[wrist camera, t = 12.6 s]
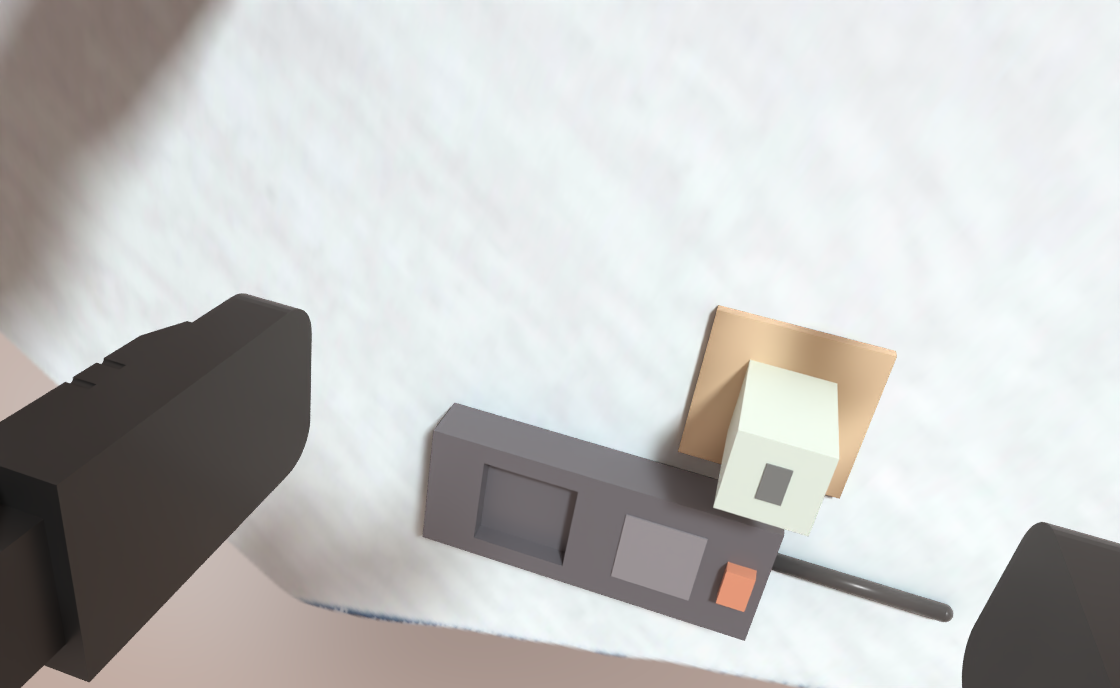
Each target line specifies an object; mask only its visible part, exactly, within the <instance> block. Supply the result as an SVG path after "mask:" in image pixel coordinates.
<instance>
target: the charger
mask: <svg viewBox="0 0 1120 688" xmlns="http://www.w3.org/2000/svg"><path fill="white" fill-rule="evenodd" d="M838 461H839V427H838V390H837V383H834V382H830V381H826V380H823V379H819V378H815V377H812V376H808V375H804V374H801V373H797V372H793V371H790V370H786V369H783V368H779V367H775V366H772V365H768V364H764V363H761V362H757V361H753V360H750V361H749V365H748V368H747V371H746V374H745V377H744V380H743V384H742V387H741V390H740V393H739V396H738V399H737V403H736V406H735V409H734V412H733V415H732V418H731V422H730V425H729V428H728V432H727V437H726V442H725V448H724V453H723V458H722V464H721V469H720V474H719V479H718V485H717V490H716V495H715V501H714V506H713V508H717V509H720V510H723V511H726V512H730V513H733V514H736V515H740V516H743V517H746V518H749V519H753V520H756V521H759V522H762V523H766V524H769V525H772V526H776V527H779V528H782V529H785V530H789V531H792V532H795V533H799V534H802V535H805V536H809V534H810V531H811V529H812V526H813V524H814V521H815V519H816V516H817V514H818V511H819V509H820V506H821V504H822V501H823V499H824V496H825V494H826V491H827V489H828V486H829V484H830V481H831V479H832V476H833V474H834V471H835V469H836V466H837V464H838Z"/></svg>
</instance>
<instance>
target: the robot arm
mask: <svg viewBox="0 0 1120 688" xmlns="http://www.w3.org/2000/svg"><path fill="white" fill-rule="evenodd" d="M311 341H312V331H311V322H310V319H309V316H308V315H307V313H306V312H305V311H303V310H301V309H298V308H294V307H291V306H287V305H283V304H280V303H276V302H273V301H269V300H266V299H262V298H259V297H255V296H252V295H248V294H242V293H241V294H237V295H235V296H233V297H231V298H229V299H228V300H226V301H225V302H223V303H222V304H220V305H219V306H217V307H216V308H214V309H212V310H211V311H209V312H208V313H206V314H205V315H203V316H202V317H200V318H198V319H197V320H195V321H194V322H188V321H186V322H183V323H180V324H177V325H173V326H170V327H167V328H164V329H160V330H157V331H154V332H151V333H147V334H144V335H141V336H139V337H137V338H136V339H134V340H133V341H131V342H129V343H128V344H126V345H124V346H123V347H121V348H120V349H118V350H116V351H115V352H113V353H111V354H110V355H108V356H107V357H105V358H104V361H103V363H102V364H99V363H95V364H94V365H92V366H90V367H89V368H87V369H85V370H84V371H82V372H81V373H79V374H77V375H76V376H74V377H73V381H72V382H71V383H67V382H64V383H63V384H61V385H59V386H58V387H56V388H55V389H53V390H51V391H50V392H48V393H46V394H45V395H43V396H42V397H40V398H39V399H37V400H35V401H34V402H32V403H30V404H29V405H27V406H25V407H24V408H22V409H21V410H19V411H17V412H16V413H14V414H13V415H11V416H9V417H7V418H6V419H4V420H3V421H1V422H0V688H21V687H22V686H23V685H24V684H25V683H26V682H27V681H28V680H29V679H30V678H31V677H32V676H33V675H34V674H35V673H36V672H37V671H38V670H39V669H41V668H42V667H43V666H44V665H45V666H47V667H50V668H53V669H56V670H58V671H61V672H63V673H66V674H69V675H71V676H74V677H76V678H79V679H82V680H84V681H87V682H90V681H91V680H92V679H93V678H94V677H95V676H96V675H97V674H98V673H99V672H100V671H101V670H102V668H104V667H105V665H106V664H107V663H108V662H109V661H110V660H111V659H112V658H113V657H114V656H115V655H116V654H117V653H118V652H119V651H120V650H121V649H122V648H123V647H124V646H125V645H126V644H127V643H128V641H129V640H130V639H131V638H132V637H133V636H134V635H135V634H136V633H137V632H138V631H139V630H140V629H141V628H142V627H143V626H144V625H145V624H146V623H147V622H148V621H149V620H150V618H151V617H152V616H153V615H154V614H155V613H156V612H157V611H158V610H159V609H160V608H161V607H162V606H163V605H164V604H165V603H166V602H167V601H168V600H169V599H170V597H172V595H173V594H174V593H175V592H176V591H177V590H178V589H179V588H180V587H181V586H182V585H183V584H184V583H185V582H186V581H187V580H188V579H189V578H190V577H191V576H192V574H193V573H194V572H195V571H196V570H197V569H198V568H199V567H200V566H201V565H202V564H203V563H204V562H205V561H206V560H207V559H208V558H209V557H210V556H211V555H212V554H213V553H214V551H215V550H217V548H218V547H219V546H220V545H221V544H222V543H223V542H224V541H225V540H226V539H227V538H228V537H229V536H230V535H231V534H232V533H233V532H234V531H235V530H236V529H237V528H238V527H239V525H240V524H241V523H242V522H243V521H244V520H245V519H246V518H247V517H248V516H249V515H250V514H251V513H252V512H253V511H254V510H255V509H256V508H257V507H258V506H259V505H260V504H261V502H262V501H263V500H264V499H265V498H266V497H267V496H268V495H269V494H270V493H271V492H272V491H273V490H274V489H275V488H276V487H277V486H278V485H279V484H280V483H281V482H282V481H283V480H284V478H285V477H286V476H287V475H288V474H289V473H290V472H291V471H292V469H293V468H294V466H295V465H296V463H297V462H298V460H299V458H300V456H301V454H302V452H303V449H304V447H305V444H306V441H307V437H308V433H309V427H310V400H311ZM962 688H1120V544H1119V543H1116V542H1112V541H1109V540H1105V539H1102V538H1098V537H1095V536H1091V535H1088V534H1084V533H1080V532H1077V531H1073V530H1070V529H1066V528H1063V527H1059V526H1056V525H1052V524H1049V523H1045V522H1040V523H1037V524H1035V525H1033V526H1032V527H1031V528H1030V529H1029V530H1028V531H1027V533H1026V534H1025V535H1024V537H1023V539H1022V540H1021V542H1020V544H1019V546H1018V547H1017V549H1016V551H1015V553H1014V555H1013V556H1012V558H1011V560H1010V562H1009V564H1008V565H1007V567H1006V569H1005V571H1004V573H1003V574H1002V576H1001V578H1000V580H999V582H998V583H997V585H996V587H995V589H994V591H993V592H992V594H991V596H990V598H989V600H988V601H987V603H986V605H985V607H984V609H983V610H982V612H981V614H980V616H979V618H978V620H977V621H976V623H975V625H974V627H973V629H972V631H971V634H970V636H969V639H968V642H967V645H966V649H965V654H964V660H963V667H962Z"/></svg>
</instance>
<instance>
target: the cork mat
mask: <svg viewBox="0 0 1120 688" xmlns="http://www.w3.org/2000/svg"><path fill="white" fill-rule="evenodd" d="M896 358H897V355H896V351H893V350H889V349H885V348H881V347H878V346H874V345H870V344H866V343H862V342H858V341H854V340H851V339H847V338H843V337H839V336H835V335H831V334H827V333H824V332H820V331H816V330H812V329H808V328H804V327H800V326H797V325H793V324H789V323H785V322H781V321H777V320H773V319H770V318H766V317H762V316H758V315H754V314H750V313H746V312H743V311H739V310H735V309H731V308H727V307H723V306H719V305H718V308H717V312H716V315H715V319H714V323H713V326H712V330H711V334H710V337H709V341H708V344H707V348H706V352H705V355H704V359H703V362H702V366H701V370H700V373H699V377H698V381H697V384H696V388H695V391H694V395H693V399H692V402H691V406H690V410H689V413H688V417H687V420H686V424H685V428H684V431H683V435H682V439H681V442H680V446H679V449H678V452H681V453H684V454H687V455H691V456H694V457H698V458H701V459H705V460H708V461H712V462H715V463H718V464H722V458H723V453H724V448H725V442H726V437H727V432H728V428H729V425H730V422H731V418H732V415H733V412H734V409H735V406H736V403H737V399H738V396H739V393H740V390H741V387H742V384H743V380H744V377H745V374H746V371H747V368H748V365H749V361H750V360H753V361H757V362H761V363H764V364H768V365H772V366H775V367H779V368H783V369H786V370H790V371H793V372H797V373H801V374H804V375H808V376H812V377H815V378H819V379H823V380H826V381H830V382H834V383H837V390H838V427H839V461H838V464H837V466H836V469H835V471H834V474H833V476H832V479H831V481H830V484H829V486H828V489H827V491H826V494H825V495H829V496H832V497H836V498H839V499H840V496H841V494H842V491H843V489H844V486H845V484H846V481H847V479H848V476H849V474H850V472H851V469H852V467H853V464H854V462H855V459H856V457H857V454H858V452H859V449H860V447H861V444H862V442H863V439H864V437H865V434H866V432H867V429H868V427H869V424H870V422H871V419H872V417H873V415H874V412H875V410H876V407H877V405H878V402H879V400H880V397H881V395H882V392H883V390H884V387H885V385H886V382H887V380H888V377H889V375H890V372H891V370H892V367H893V365H894V362H895V360H896Z"/></svg>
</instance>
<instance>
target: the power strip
mask: <svg viewBox="0 0 1120 688" xmlns="http://www.w3.org/2000/svg"><path fill="white" fill-rule="evenodd" d="M717 485H718V480H716V479H713V478H709V477H706V476H703V475H699V474H696V473H692V472H689V471H686V470H682V469H679V468H675V467H672V466H668V465H665V464H662V463H658V462H655V461H651V460H648V459H645V458H641V457H638V456H634V455H631V454H628V453H624V452H621V451H617V450H614V449H611V448H607V447H604V446H600V445H597V444H594V443H590V442H587V441H583V440H580V439H576V438H573V437H570V436H566V435H563V434H559V433H556V432H553V431H549V430H546V429H542V428H539V427H536V426H532V425H529V424H525V423H522V422H519V421H515V420H512V419H508V418H505V417H502V416H498V415H495V414H491V413H488V412H484V411H481V410H478V409H474V408H471V407H467V406H464V405H461V404H457V403H454V404H453V406H452V407H451V408H450V410H449V411H448V412H447V414H446V415H445V416H444V417H443V419H442V420H441V421H440V423H439V424H438V425H437V427H436V428H435V429H434V431H433V441H432V451H431V461H430V471H429V480H428V490H427V500H426V510H425V519H424V529H423V537H425V538H428V539H431V540H434V541H437V542H441V543H444V544H447V545H450V546H453V547H456V548H459V549H462V550H465V551H468V552H471V553H475V554H478V555H481V556H484V557H487V558H490V559H493V560H496V561H499V562H502V563H506V564H509V565H512V566H515V567H518V568H521V569H524V570H527V571H530V572H533V573H536V574H540V575H543V576H546V577H549V578H552V579H555V580H558V581H561V582H564V583H567V584H570V585H574V586H577V587H580V588H583V589H586V590H589V591H592V592H595V593H598V594H601V595H605V596H608V597H611V598H614V599H617V600H620V601H623V602H626V603H629V604H632V605H635V606H639V607H642V608H645V609H648V610H651V611H654V612H657V613H660V614H663V615H666V616H669V617H673V618H676V619H679V620H682V621H685V622H688V623H691V624H694V625H697V626H700V627H704V628H707V629H710V630H713V631H716V632H719V633H722V634H725V635H728V636H731V637H734V638H738V639H741V640H744V641H745V639H746V636H747V634H748V631H749V628H750V625H751V623H752V620H753V617H754V615H755V612H756V609H757V607H758V604H759V601H760V599H761V596H762V593H763V591H764V588H765V585H766V583H767V580H768V577H769V575H770V572H771V569H772V570H775V571H778V572H782V573H785V574H788V575H791V576H795V577H798V578H801V579H804V580H808V581H811V582H814V583H817V584H821V585H824V586H827V587H830V588H834V589H837V590H840V591H843V592H847V593H850V594H853V595H856V596H860V597H863V598H866V599H869V600H873V601H876V602H879V603H882V604H886V605H889V606H892V607H895V608H899V609H902V610H905V611H908V612H912V613H915V614H918V615H921V616H925V617H928V618H931V619H934V620H938V621H941V622H948V621H950V620H951V619H952V617H953V610H952V609H951V607H950V606H948V605H947V604H944V603H941V602H937V601H934V600H931V599H927V598H924V597H921V596H918V595H914V594H911V593H908V592H904V591H901V590H898V589H895V588H891V587H888V586H885V585H881V584H878V583H875V582H872V581H868V580H865V579H862V578H858V577H855V576H852V575H849V574H845V573H842V572H839V571H835V570H832V569H829V568H826V567H822V566H819V565H816V564H812V563H809V562H806V561H803V560H799V559H796V558H793V557H789V556H786V555H783V554H780V553H778V550H779V548H780V545H781V542H782V540H783V537H784V529H782V528H779V527H776V526H772V525H769V524H766V523H762V522H759V521H756V520H753V519H749V518H746V517H743V516H740V515H736V514H733V513H730V512H726V511H723V510H720V509H717V508H713V506H714V501H715V495H716V490H717Z"/></svg>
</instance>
